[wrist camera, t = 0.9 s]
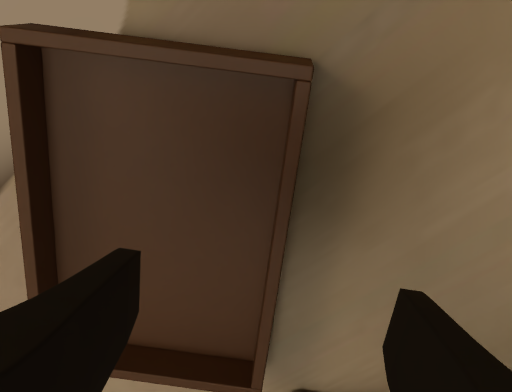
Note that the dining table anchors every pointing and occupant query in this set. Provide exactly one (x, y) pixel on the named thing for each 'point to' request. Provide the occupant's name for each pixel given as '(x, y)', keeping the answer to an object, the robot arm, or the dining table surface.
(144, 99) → the tray
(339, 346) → the dining table surface
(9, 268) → the dining table surface
